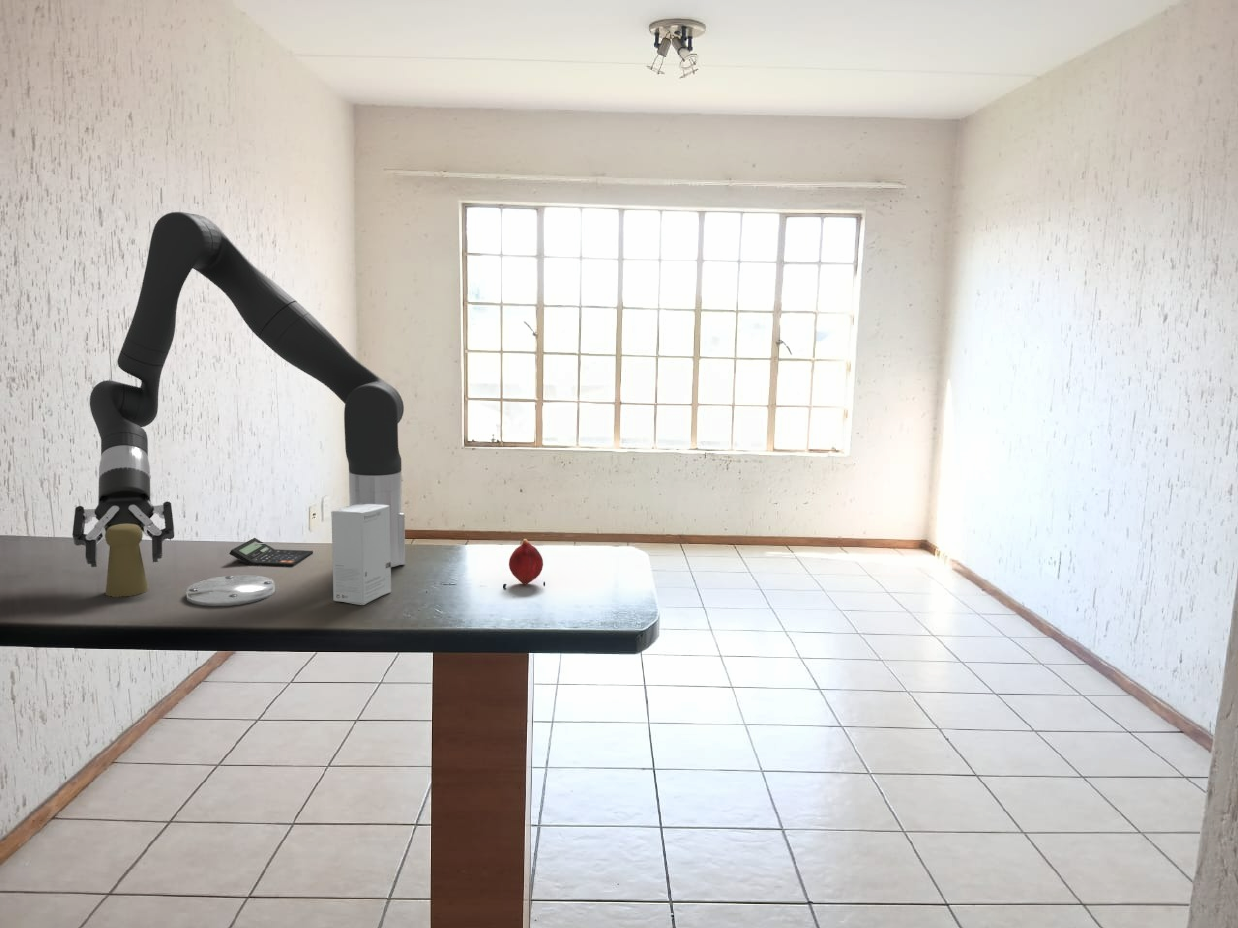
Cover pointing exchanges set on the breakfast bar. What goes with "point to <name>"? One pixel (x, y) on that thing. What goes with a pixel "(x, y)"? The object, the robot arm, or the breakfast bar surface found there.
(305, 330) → the robot arm
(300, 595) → the breakfast bar surface
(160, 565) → the breakfast bar surface
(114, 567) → the cork
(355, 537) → the skincare box
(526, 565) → the onion
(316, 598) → the breakfast bar surface
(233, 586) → the flange
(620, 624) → the breakfast bar surface
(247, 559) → the calculator
